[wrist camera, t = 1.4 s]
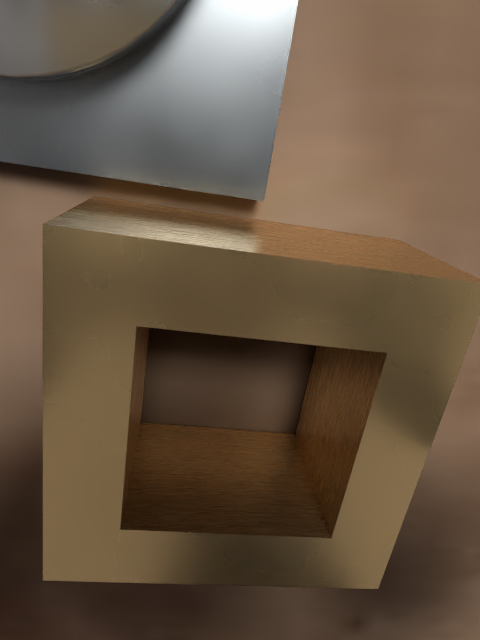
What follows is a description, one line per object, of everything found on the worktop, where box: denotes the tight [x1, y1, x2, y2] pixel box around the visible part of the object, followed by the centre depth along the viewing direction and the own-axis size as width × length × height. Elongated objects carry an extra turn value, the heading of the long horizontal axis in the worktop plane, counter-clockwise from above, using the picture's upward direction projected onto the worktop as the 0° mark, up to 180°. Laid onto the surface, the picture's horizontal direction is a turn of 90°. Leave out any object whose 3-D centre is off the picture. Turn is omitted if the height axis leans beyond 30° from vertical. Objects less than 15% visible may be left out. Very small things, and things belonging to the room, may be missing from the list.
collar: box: [43, 196, 480, 589], centre depth 10 cm, size 7×7×4 cm
